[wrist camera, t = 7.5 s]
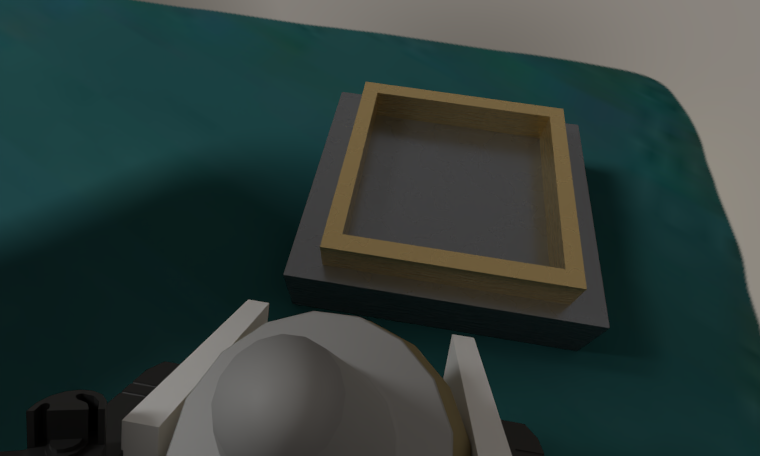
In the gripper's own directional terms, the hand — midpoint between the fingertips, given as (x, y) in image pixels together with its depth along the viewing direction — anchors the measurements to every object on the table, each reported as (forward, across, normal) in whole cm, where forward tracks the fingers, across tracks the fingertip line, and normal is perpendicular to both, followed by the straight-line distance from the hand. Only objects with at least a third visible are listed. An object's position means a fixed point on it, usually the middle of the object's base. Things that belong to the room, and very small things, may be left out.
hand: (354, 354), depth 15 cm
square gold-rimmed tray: (+17, +4, +2) cm, 18 cm away
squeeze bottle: (+3, 0, -8) cm, 8 cm away
